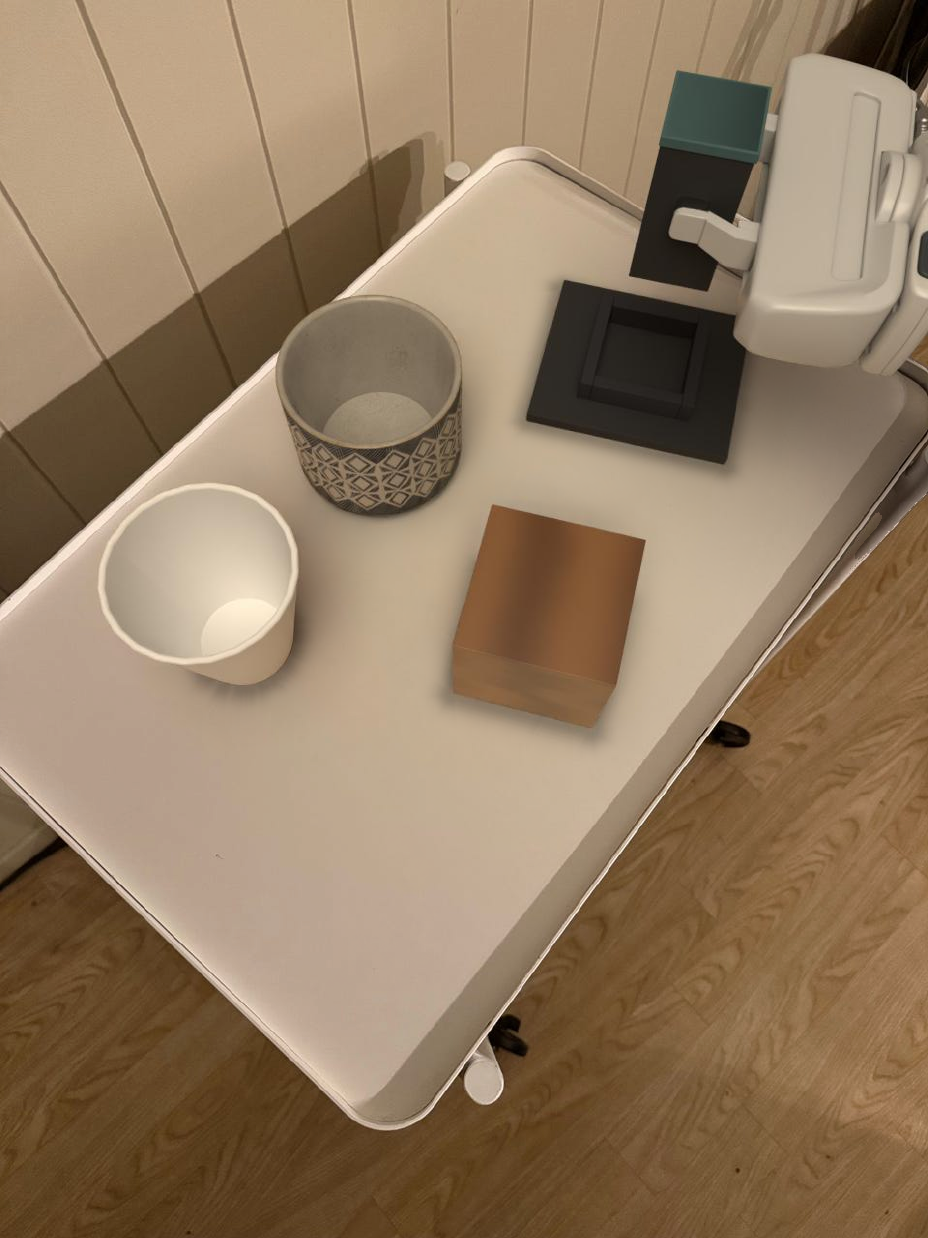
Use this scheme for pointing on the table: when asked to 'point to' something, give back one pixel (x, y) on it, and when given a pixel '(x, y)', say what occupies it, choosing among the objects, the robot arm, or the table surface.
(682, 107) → the pad block
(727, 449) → the base pad
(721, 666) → the table surface
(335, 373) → the planter
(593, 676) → the block
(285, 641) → the cup
